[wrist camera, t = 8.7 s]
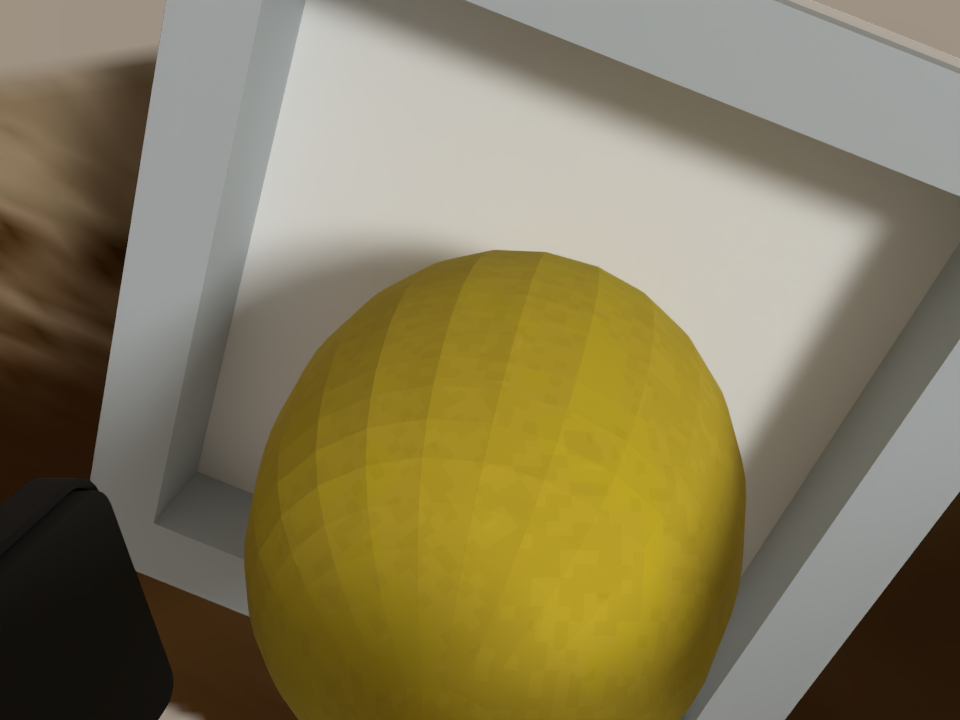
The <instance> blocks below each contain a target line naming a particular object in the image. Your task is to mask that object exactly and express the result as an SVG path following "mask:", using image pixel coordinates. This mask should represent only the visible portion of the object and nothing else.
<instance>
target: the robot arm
mask: <svg viewBox="0 0 960 720" xmlns="http://www.w3.org/2000/svg"><path fill="white" fill-rule="evenodd" d="M172 689H173V674H172V670H171V667H170V664H169V662H168V659H167V656H166V653H165V651H164V648H163V645H162V643H161V640H160V637H159V634H158V632H157V629H156V626H155V623H154V621H153V618H152V615H151V612H150V610H149V607H148V604H147V601H146V599H145V596H144V593H143V590H142V588H141V585H140V582H139V579H138V577H137V574H136V571H135V568H134V566H133V563H132V560H131V557H130V555H129V552H128V549H127V546H126V544H125V541H124V538H123V535H122V533H121V530H120V527H119V524H118V522H117V519H116V516H115V513H114V511H113V508H112V505H111V503H110V501H109V499H108V497H107V496H106V495H105V494H104V493H102V492H99V490H98V488H97V487H96V485H95V484H93V483H92V482H91V481H90V480H88V479H85V478H46V477H42V478H35V479H32V480H30V481H29V482H27V483H25V484H24V485H23V486H22V487H21V488H19V489H18V490H17V491H16V492H15V493H14V494H12V495H11V496H10V497H9V498H8V499H7V500H5V501H4V502H3V503H2V504H1V505H0V720H158V719H159V718H160V716H161V714H162V713H163V712H164V710H165V709H166V707H167V705H168V703H169V701H170V698H171V695H172Z"/></svg>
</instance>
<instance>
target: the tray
mask: <svg viewBox="0 0 960 720" xmlns="http://www.w3.org/2000/svg"><path fill="white" fill-rule="evenodd" d="M490 250H510V251H535V252H548V253H552V254H555V255H559V256H562V257H566V258H569V259H573V260H576V261H580V262H583V263H587V264H590V265H594V266H598V267H599V268H601V269H603V270H605V271H607V272H608V273H610V274H612V275H614V276H615V277H617V278H619V279H621V280H623V281H624V282H626V283H628V284H630V285H632V286H633V287H635V288H637V289H639V290H640V291H642V292H644V293H645V294H646V295H647V296H648V297H649V298H650V299H651V300H652V301H653V302H654V303H655V304H657V305H658V306H659V307H660V308H661V309H662V310H663V311H664V312H665V313H666V314H667V315H668V316H669V317H670V318H671V319H672V320H673V321H674V322H675V323H676V324H677V325H678V326H679V327H681V328H682V330H683V331H684V332H685V333H686V334H687V335H688V336H689V338H690V339H691V341H692V343H693V344H694V346H695V347H696V349H697V351H698V352H699V354H700V356H701V357H702V359H703V361H704V362H705V364H706V366H707V367H708V369H709V371H710V372H711V374H712V376H713V377H714V379H715V381H716V382H717V384H718V386H719V388H720V389H721V391H722V393H723V396H724V398H725V401H726V404H727V407H728V410H729V414H730V418H731V421H732V425H733V429H734V432H735V436H736V440H737V443H738V447H739V451H740V454H741V458H742V463H743V468H744V473H745V481H746V511H745V531H744V550H743V563H742V573H741V578H740V584H739V589H738V594H737V597H736V601H735V604H734V608H733V611H732V615H731V617H730V620H729V622H728V625H727V628H726V630H725V633H724V635H723V638H722V640H721V643H720V645H719V648H718V650H717V653H716V656H715V658H714V661H713V663H712V666H711V668H710V671H709V673H708V676H707V678H706V681H705V683H704V685H703V687H702V688H701V690H700V692H699V693H698V695H697V697H696V698H695V700H694V702H693V703H692V705H691V706H690V707H689V709H688V710H687V711H686V712H685V713H684V715H683V716H682V717H681V718H680V720H785V719H786V717H787V716H788V715H789V714H790V712H791V711H792V710H793V708H794V707H795V706H796V704H797V703H798V702H799V700H800V699H801V698H802V697H803V695H804V694H805V693H806V691H807V690H808V689H809V687H810V686H811V685H812V683H813V682H814V681H815V680H816V678H817V677H818V676H819V674H820V673H821V672H822V670H823V669H824V668H825V667H826V665H827V664H828V663H829V661H830V660H831V659H832V657H833V656H834V655H835V653H836V652H837V651H838V650H839V648H840V647H841V646H842V644H843V643H844V642H845V640H846V639H847V638H848V636H849V635H850V634H851V633H852V631H853V630H854V629H855V627H856V626H857V625H858V623H859V622H860V621H861V620H862V618H863V617H864V616H865V614H866V613H867V612H868V610H869V609H870V608H871V606H872V605H873V604H874V603H875V601H876V600H877V599H878V597H879V596H880V595H881V593H882V592H883V591H884V590H885V588H886V587H887V586H888V584H889V583H890V582H891V580H892V579H893V578H894V576H895V575H896V574H897V573H898V571H899V570H900V569H901V567H902V566H903V565H904V563H905V562H906V561H907V559H908V558H909V557H910V556H911V554H912V553H913V552H914V550H915V549H916V548H917V546H918V545H919V544H920V543H921V541H922V540H923V539H924V537H925V536H926V535H927V533H928V532H929V531H930V529H931V528H932V527H933V526H934V524H935V523H936V522H937V520H938V519H939V518H940V516H941V515H942V514H943V512H944V511H945V510H946V509H947V507H948V506H949V505H950V503H951V502H952V501H953V499H954V498H955V497H956V496H957V494H958V493H959V492H960V58H958V57H955V56H953V55H950V54H948V53H945V52H942V51H940V50H937V49H935V48H932V47H930V46H927V45H925V44H922V43H920V42H917V41H914V40H912V39H910V38H907V37H904V36H902V35H899V34H897V33H894V32H892V31H889V30H887V29H884V28H881V27H879V26H877V25H874V24H872V23H869V22H867V21H864V20H861V19H859V18H856V17H854V16H851V15H849V14H846V13H844V12H841V11H839V10H836V9H834V8H831V7H829V6H826V5H824V4H821V3H818V2H816V1H813V0H166V4H165V10H164V16H163V23H162V29H161V36H160V42H159V48H158V54H157V61H156V67H155V73H154V80H153V86H152V92H151V99H150V105H149V111H148V118H147V124H146V130H145V136H144V143H143V149H142V155H141V162H140V168H139V174H138V181H137V187H136V193H135V200H134V206H133V212H132V219H131V225H130V231H129V238H128V244H127V250H126V257H125V263H124V269H123V276H122V282H121V288H120V294H119V301H118V307H117V313H116V320H115V326H114V332H113V339H112V345H111V351H110V358H109V364H108V370H107V377H106V383H105V389H104V396H103V402H102V408H101V415H100V421H99V427H98V434H97V440H96V446H95V452H94V459H93V465H92V471H91V478H90V481H91V482H92V483H93V484H95V485H96V487H97V488H98V490H99V492H102V493H104V494H105V495H106V496H107V497H108V499H109V501H110V503H111V505H112V508H113V511H114V513H115V516H116V519H117V522H118V524H119V527H120V530H121V533H122V535H123V538H124V541H125V544H126V546H127V549H128V552H129V555H130V557H131V560H132V563H133V566H134V568H135V571H137V572H140V573H142V574H145V575H147V576H150V577H152V578H155V579H157V580H159V581H162V582H164V583H167V584H169V585H172V586H174V587H177V588H179V589H182V590H184V591H187V592H189V593H192V594H194V595H197V596H199V597H202V598H204V599H207V600H209V601H212V602H214V603H217V604H219V605H222V606H224V607H227V608H229V609H232V610H234V611H237V612H239V613H242V614H244V615H247V616H249V611H248V601H247V591H246V581H245V570H244V541H245V535H246V529H247V523H248V517H249V513H250V508H251V503H252V498H253V494H254V489H255V484H256V479H257V475H258V470H259V467H260V463H261V459H262V455H263V452H264V448H265V446H266V443H267V440H268V438H269V435H270V432H271V429H272V427H273V425H274V423H275V421H276V419H277V417H278V415H279V413H280V411H281V409H282V407H283V406H284V404H285V402H286V400H287V399H288V397H289V395H290V393H291V392H292V390H293V388H294V386H295V385H296V383H297V381H298V379H299V378H300V376H301V374H302V372H303V371H304V369H305V367H306V366H307V364H308V363H309V361H310V360H311V358H312V356H313V355H314V353H315V352H316V351H317V349H318V348H319V347H320V346H321V345H322V344H323V343H324V341H325V340H326V339H327V338H328V337H329V336H330V335H331V334H332V333H333V332H335V331H336V330H337V329H338V328H339V327H340V326H341V325H342V324H343V323H344V322H345V321H347V320H348V319H349V318H350V317H351V316H352V315H353V314H354V313H355V312H356V311H357V310H358V309H360V308H361V307H362V306H363V305H364V304H365V303H366V302H367V301H368V300H370V299H371V298H372V297H373V296H374V295H376V294H377V293H378V292H380V291H382V290H383V289H385V288H387V287H389V286H391V285H393V284H394V283H396V282H398V281H400V280H402V279H404V278H406V277H408V276H410V275H412V274H414V273H416V272H418V271H420V270H422V269H424V268H426V267H428V266H430V265H432V264H434V263H437V262H440V261H444V260H448V259H453V258H458V257H462V256H467V255H472V254H476V253H481V252H486V251H490ZM249 617H250V616H249Z"/></svg>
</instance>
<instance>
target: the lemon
mask: <svg viewBox="0 0 960 720" xmlns="http://www.w3.org/2000/svg"><path fill="white" fill-rule="evenodd" d="M745 511H746V481H745V473H744V468H743V463H742V458H741V454H740V451H739V447H738V443H737V440H736V436H735V432H734V429H733V425H732V421H731V418H730V414H729V410H728V407H727V404H726V401H725V398H724V396H723V393H722V391H721V389H720V388H719V386H718V384H717V382H716V381H715V379H714V377H713V376H712V374H711V372H710V371H709V369H708V367H707V366H706V364H705V362H704V361H703V359H702V357H701V356H700V354H699V352H698V351H697V349H696V347H695V346H694V344H693V343H692V341H691V339H690V338H689V336H688V335H687V334H686V333H685V332H684V331H683V330H682V328H681V327H679V326H678V325H677V324H676V323H675V322H674V321H673V320H672V319H671V318H670V317H669V316H668V315H667V314H666V313H665V312H664V311H663V310H662V309H661V308H660V307H659V306H658V305H657V304H655V303H654V302H653V301H652V300H651V299H650V298H649V297H648V296H647V295H646V294H645V293H644V292H642V291H640V290H639V289H637V288H635V287H633V286H632V285H630V284H628V283H626V282H624V281H623V280H621V279H619V278H617V277H615V276H614V275H612V274H610V273H608V272H607V271H605V270H603V269H601V268H599V267H598V266H594V265H590V264H587V263H583V262H580V261H576V260H573V259H569V258H566V257H562V256H559V255H555V254H552V253H548V252H535V251H510V250H490V251H486V252H481V253H476V254H472V255H467V256H462V257H458V258H453V259H448V260H444V261H440V262H437V263H434V264H432V265H430V266H428V267H426V268H424V269H422V270H420V271H418V272H416V273H414V274H412V275H410V276H408V277H406V278H404V279H402V280H400V281H398V282H396V283H394V284H393V285H391V286H389V287H387V288H385V289H383V290H382V291H380V292H378V293H377V294H376V295H374V296H373V297H372V298H371V299H370V300H368V301H367V302H366V303H365V304H364V305H363V306H362V307H361V308H360V309H358V310H357V311H356V312H355V313H354V314H353V315H352V316H351V317H350V318H349V319H348V320H347V321H345V322H344V323H343V324H342V325H341V326H340V327H339V328H338V329H337V330H336V331H335V332H333V333H332V334H331V335H330V336H329V337H328V338H327V339H326V340H325V341H324V343H323V344H322V345H321V346H320V347H319V348H318V349H317V351H316V352H315V353H314V355H313V356H312V358H311V360H310V361H309V363H308V364H307V366H306V367H305V369H304V371H303V372H302V374H301V376H300V378H299V379H298V381H297V383H296V385H295V386H294V388H293V390H292V392H291V393H290V395H289V397H288V399H287V400H286V402H285V404H284V406H283V407H282V409H281V411H280V413H279V415H278V417H277V419H276V421H275V423H274V425H273V427H272V429H271V432H270V435H269V438H268V440H267V443H266V446H265V448H264V452H263V455H262V459H261V463H260V467H259V470H258V475H257V479H256V484H255V489H254V494H253V498H252V503H251V508H250V513H249V517H248V523H247V529H246V535H245V541H244V570H245V581H246V591H247V601H248V611H249V616H250V620H251V625H252V630H253V634H254V637H255V639H256V642H257V644H258V647H259V649H260V652H261V654H262V657H263V659H264V662H265V664H266V667H267V669H268V672H269V674H270V676H271V678H272V680H273V682H274V684H275V686H276V688H277V690H278V691H279V693H280V695H281V696H282V698H283V699H284V700H285V702H286V703H287V705H288V706H289V707H290V709H291V710H292V712H293V713H294V714H295V716H296V717H297V718H298V720H680V718H681V717H682V716H683V715H684V713H685V712H686V711H687V710H688V709H689V707H690V706H691V705H692V703H693V702H694V700H695V698H696V697H697V695H698V693H699V692H700V690H701V688H702V687H703V685H704V683H705V681H706V678H707V676H708V673H709V671H710V668H711V666H712V663H713V661H714V658H715V656H716V653H717V650H718V648H719V645H720V643H721V640H722V638H723V635H724V633H725V630H726V628H727V625H728V622H729V620H730V617H731V615H732V611H733V608H734V604H735V601H736V597H737V594H738V589H739V584H740V578H741V573H742V563H743V550H744V531H745Z"/></svg>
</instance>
